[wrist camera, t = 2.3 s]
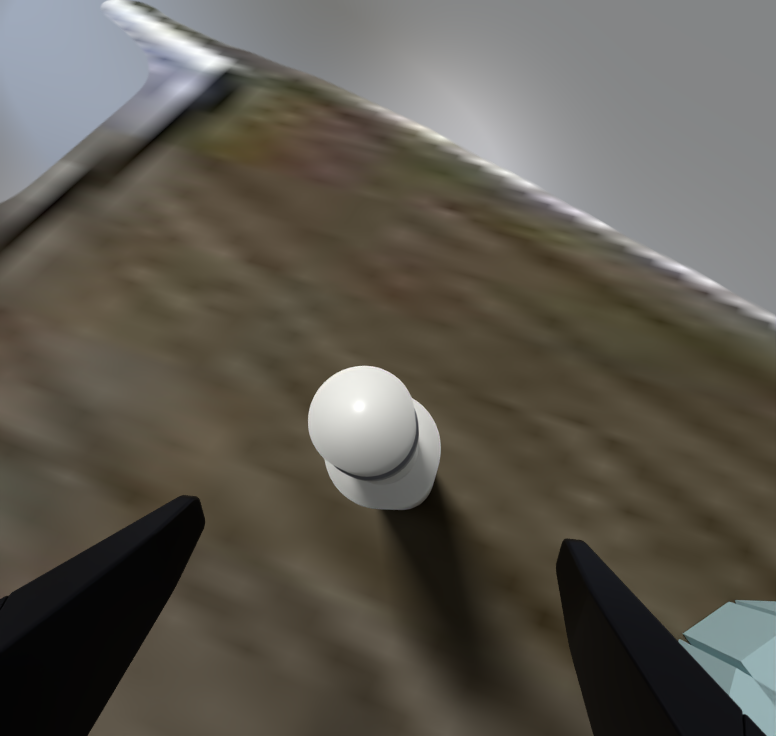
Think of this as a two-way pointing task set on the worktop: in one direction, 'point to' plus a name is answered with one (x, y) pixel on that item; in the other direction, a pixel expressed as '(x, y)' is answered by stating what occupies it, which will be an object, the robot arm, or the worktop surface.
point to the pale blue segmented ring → (741, 656)
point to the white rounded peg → (375, 439)
